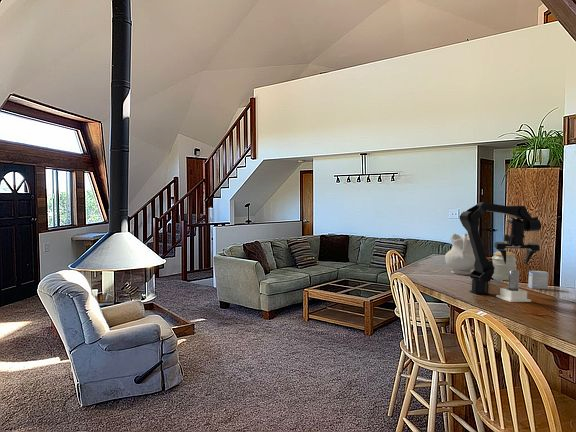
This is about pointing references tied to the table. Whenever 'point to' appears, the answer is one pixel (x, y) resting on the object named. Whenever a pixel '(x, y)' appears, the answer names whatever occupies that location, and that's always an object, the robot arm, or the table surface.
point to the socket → (513, 295)
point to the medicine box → (538, 280)
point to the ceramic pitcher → (460, 255)
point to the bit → (513, 280)
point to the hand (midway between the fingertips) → (515, 263)
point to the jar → (503, 265)
